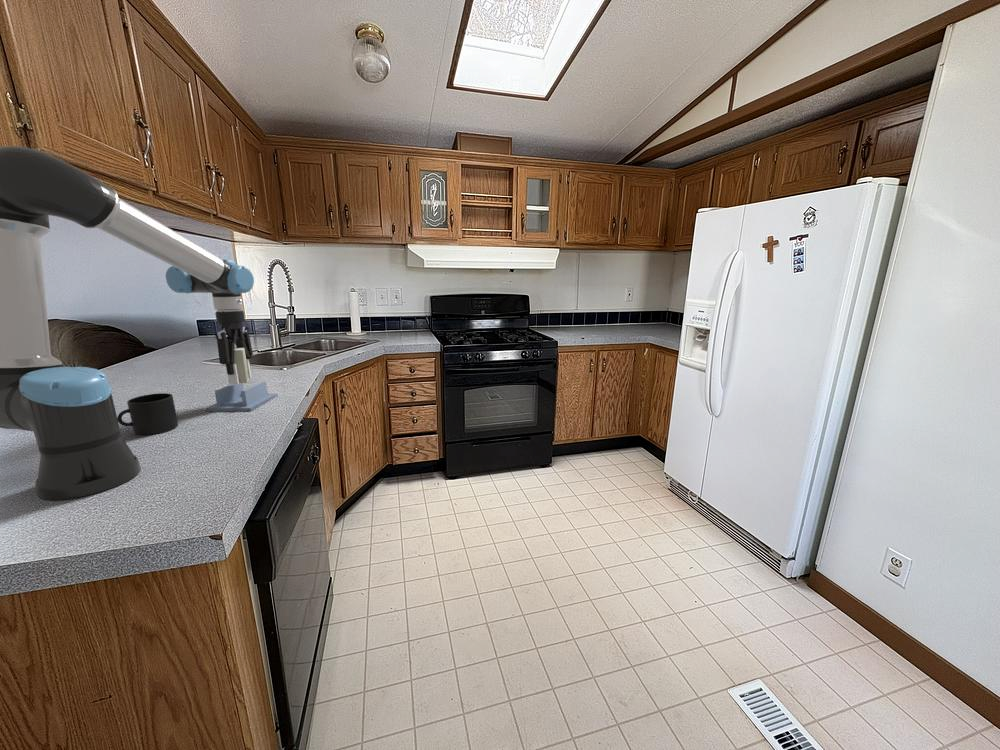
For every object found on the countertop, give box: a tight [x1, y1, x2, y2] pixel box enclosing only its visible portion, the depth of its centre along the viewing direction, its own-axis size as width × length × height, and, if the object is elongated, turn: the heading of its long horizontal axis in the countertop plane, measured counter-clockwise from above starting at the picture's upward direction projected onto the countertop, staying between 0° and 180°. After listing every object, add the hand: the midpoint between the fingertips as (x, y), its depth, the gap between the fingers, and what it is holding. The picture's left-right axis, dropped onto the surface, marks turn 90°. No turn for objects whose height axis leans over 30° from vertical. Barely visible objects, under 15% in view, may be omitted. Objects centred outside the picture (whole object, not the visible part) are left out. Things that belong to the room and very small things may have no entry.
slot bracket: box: [205, 380, 279, 412], centre depth 133 cm, size 16×14×6 cm
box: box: [234, 347, 249, 384], centre depth 131 cm, size 5×4×11 cm
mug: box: [117, 392, 179, 436], centre depth 109 cm, size 9×12×9 cm
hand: (240, 380), depth 132 cm, fingers closed on box, 6 cm apart
